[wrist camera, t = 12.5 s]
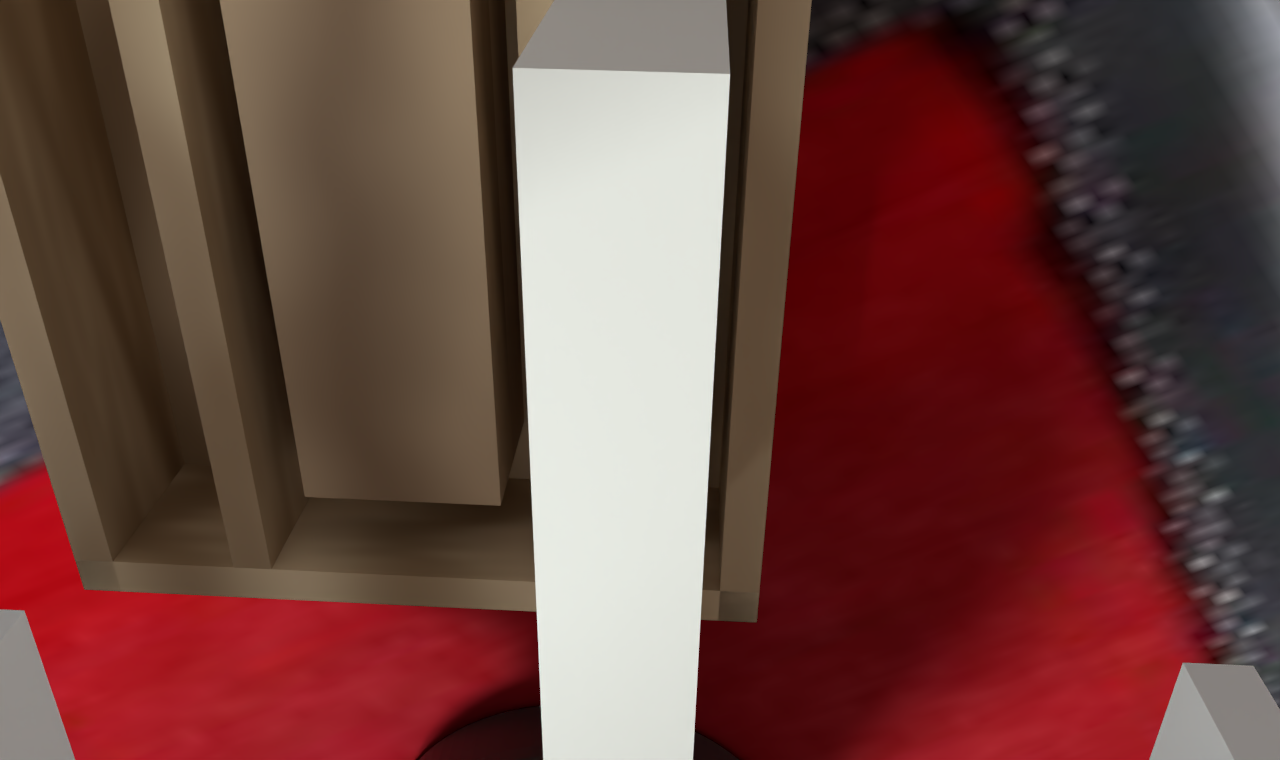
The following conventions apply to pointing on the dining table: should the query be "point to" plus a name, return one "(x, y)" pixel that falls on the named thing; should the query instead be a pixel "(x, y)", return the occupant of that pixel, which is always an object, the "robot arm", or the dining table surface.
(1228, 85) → the dining table surface
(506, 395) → the upper offcut
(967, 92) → the dining table surface
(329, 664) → the dining table surface
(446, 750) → the robot arm
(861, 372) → the dining table surface
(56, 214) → the rack
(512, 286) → the lower offcut
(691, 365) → the tall sheet
